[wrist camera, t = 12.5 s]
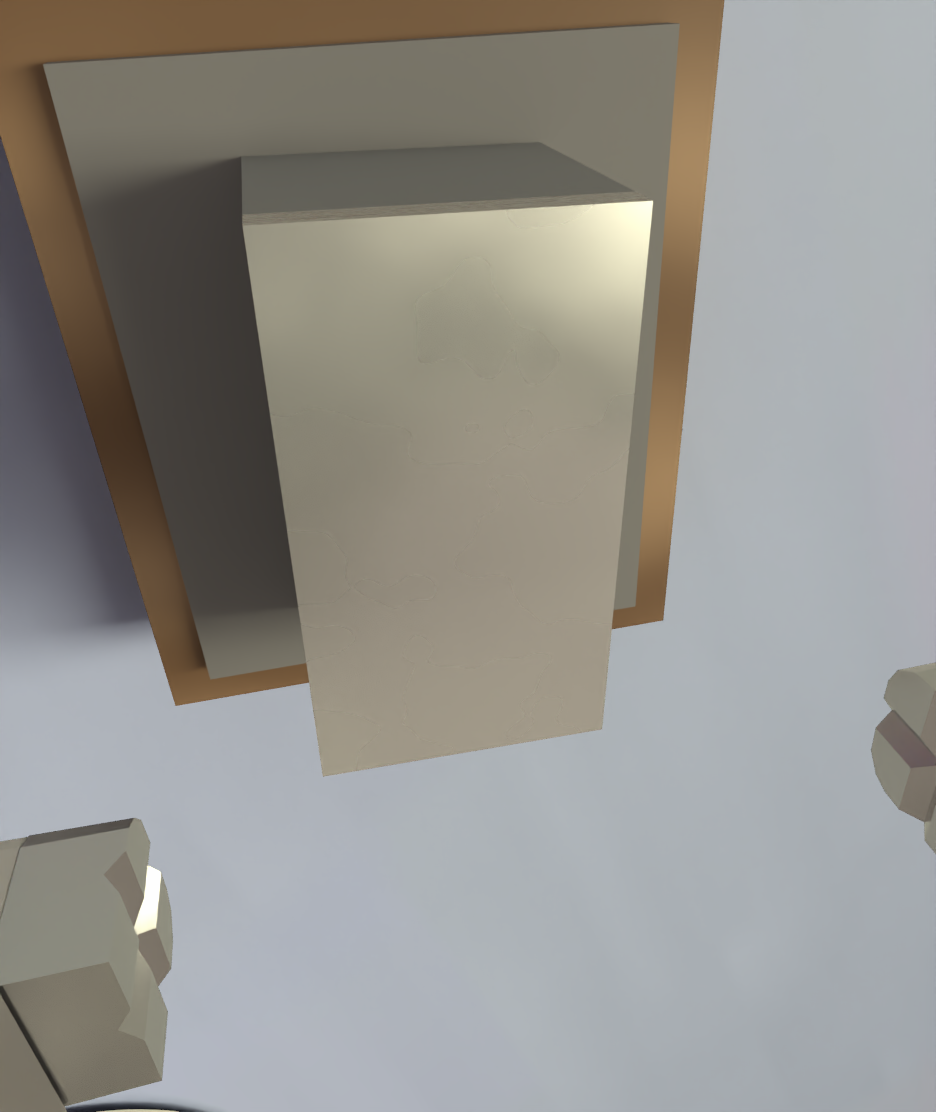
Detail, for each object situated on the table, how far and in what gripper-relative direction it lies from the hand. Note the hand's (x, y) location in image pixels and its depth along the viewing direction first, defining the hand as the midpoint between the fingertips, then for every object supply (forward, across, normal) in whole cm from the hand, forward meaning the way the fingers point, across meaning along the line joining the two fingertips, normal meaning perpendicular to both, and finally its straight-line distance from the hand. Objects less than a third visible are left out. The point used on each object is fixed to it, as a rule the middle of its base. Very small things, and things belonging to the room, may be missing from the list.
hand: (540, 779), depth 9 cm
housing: (+10, 0, -1) cm, 10 cm away
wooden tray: (+14, 0, -1) cm, 14 cm away
